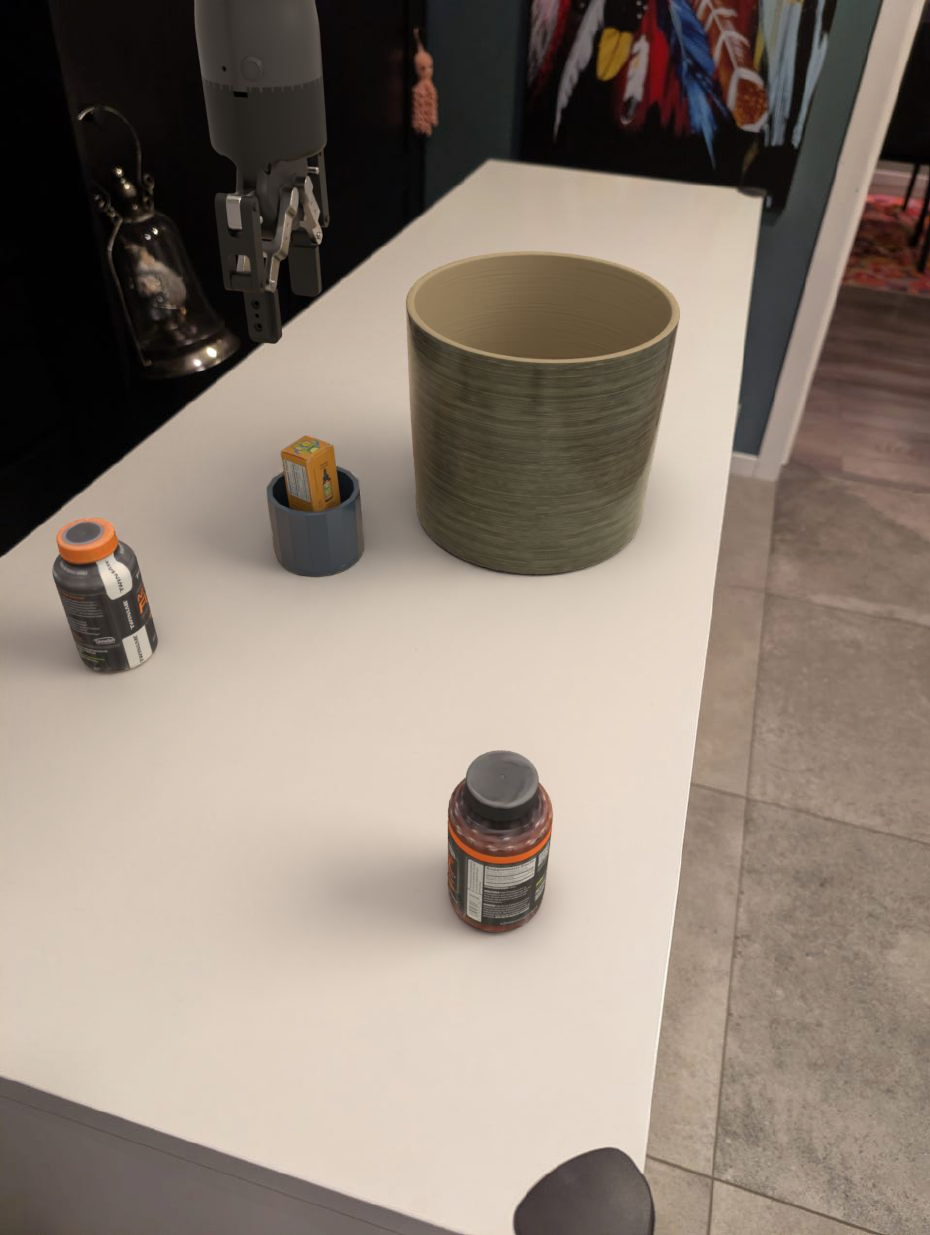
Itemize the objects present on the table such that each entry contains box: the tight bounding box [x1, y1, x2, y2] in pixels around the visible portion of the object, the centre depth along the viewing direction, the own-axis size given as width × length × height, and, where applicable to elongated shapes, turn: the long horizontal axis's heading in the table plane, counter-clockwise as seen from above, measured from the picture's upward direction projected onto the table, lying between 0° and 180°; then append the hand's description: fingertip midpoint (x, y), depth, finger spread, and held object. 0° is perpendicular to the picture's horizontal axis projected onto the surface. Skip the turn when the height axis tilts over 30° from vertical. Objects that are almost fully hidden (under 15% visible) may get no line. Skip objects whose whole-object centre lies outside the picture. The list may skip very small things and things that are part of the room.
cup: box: [266, 465, 365, 577], centre depth 83 cm, size 8×8×6 cm
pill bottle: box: [51, 517, 159, 673], centre depth 72 cm, size 6×6×11 cm
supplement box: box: [280, 435, 341, 512], centre depth 82 cm, size 3×3×10 cm
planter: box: [405, 250, 681, 575], centre depth 84 cm, size 22×22×20 cm
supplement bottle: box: [447, 749, 554, 933], centre depth 56 cm, size 6×6×11 cm
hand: (287, 316), depth 71 cm, fingers open, 8 cm apart
